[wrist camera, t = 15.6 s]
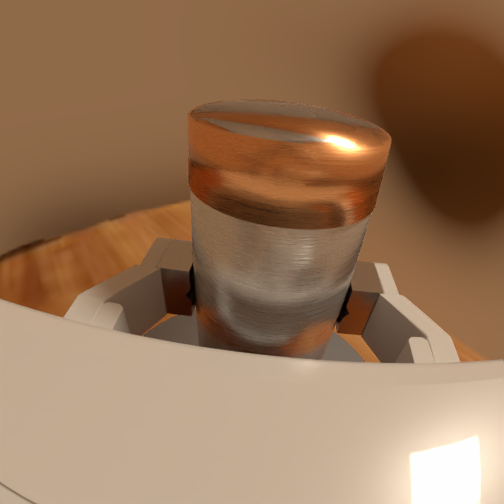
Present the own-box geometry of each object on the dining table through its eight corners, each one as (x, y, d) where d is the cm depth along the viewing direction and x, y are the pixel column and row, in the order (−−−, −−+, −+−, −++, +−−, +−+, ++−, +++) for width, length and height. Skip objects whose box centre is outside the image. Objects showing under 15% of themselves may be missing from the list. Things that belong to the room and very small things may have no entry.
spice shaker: (193, 425, 11) (157, 134, 5) (210, 340, 15) (210, 95, 9) (307, 436, 11) (424, 165, 5) (305, 350, 15) (363, 113, 9)
